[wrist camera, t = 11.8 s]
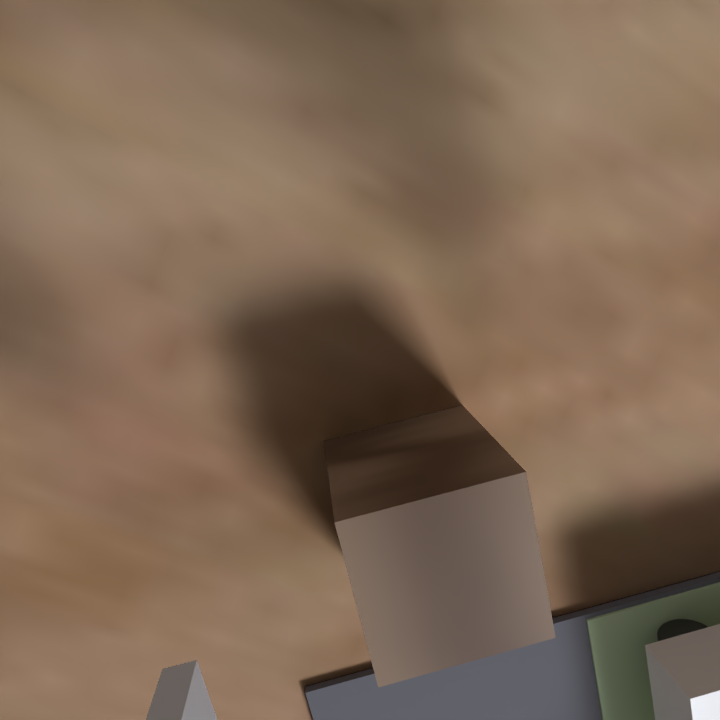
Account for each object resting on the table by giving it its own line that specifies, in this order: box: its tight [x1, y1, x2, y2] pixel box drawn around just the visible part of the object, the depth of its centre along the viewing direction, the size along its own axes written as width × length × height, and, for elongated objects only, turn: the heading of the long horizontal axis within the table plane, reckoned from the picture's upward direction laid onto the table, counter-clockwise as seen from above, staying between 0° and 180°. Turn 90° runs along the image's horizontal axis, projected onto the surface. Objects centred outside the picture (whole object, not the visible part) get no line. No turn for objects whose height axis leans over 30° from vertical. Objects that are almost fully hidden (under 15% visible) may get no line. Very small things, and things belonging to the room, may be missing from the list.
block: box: [324, 405, 556, 687], centre depth 19 cm, size 5×5×6 cm
